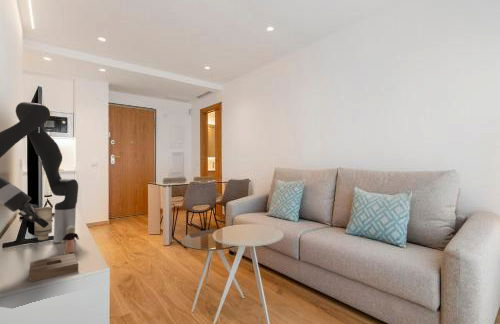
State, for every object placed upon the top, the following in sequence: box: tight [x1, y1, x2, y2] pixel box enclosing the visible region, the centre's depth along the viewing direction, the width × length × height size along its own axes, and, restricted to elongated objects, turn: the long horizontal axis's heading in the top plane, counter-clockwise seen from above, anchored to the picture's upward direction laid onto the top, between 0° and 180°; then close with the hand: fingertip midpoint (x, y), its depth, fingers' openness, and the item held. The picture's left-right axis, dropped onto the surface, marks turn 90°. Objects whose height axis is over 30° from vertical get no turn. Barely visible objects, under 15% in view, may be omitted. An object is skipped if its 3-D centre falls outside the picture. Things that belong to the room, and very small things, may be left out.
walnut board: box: [29, 253, 79, 283], centre depth 96 cm, size 14×14×3 cm
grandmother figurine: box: [60, 226, 80, 255], centre depth 115 cm, size 8×4×13 cm, turn 168°
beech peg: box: [34, 206, 53, 241], centre depth 104 cm, size 6×6×13 cm
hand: (48, 224), depth 105 cm, fingers closed on beech peg, 5 cm apart
